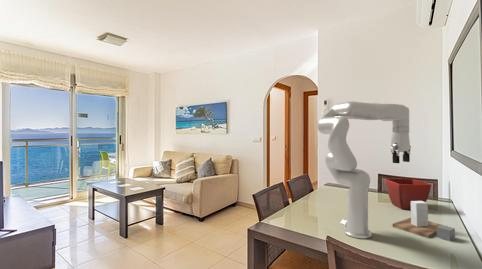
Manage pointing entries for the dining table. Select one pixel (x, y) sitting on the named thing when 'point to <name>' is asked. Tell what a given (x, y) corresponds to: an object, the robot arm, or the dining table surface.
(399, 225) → the walnut board
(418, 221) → the skincare box
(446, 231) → the graphite block
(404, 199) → the plant pot
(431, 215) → the dining table surface
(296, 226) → the dining table surface
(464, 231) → the dining table surface
